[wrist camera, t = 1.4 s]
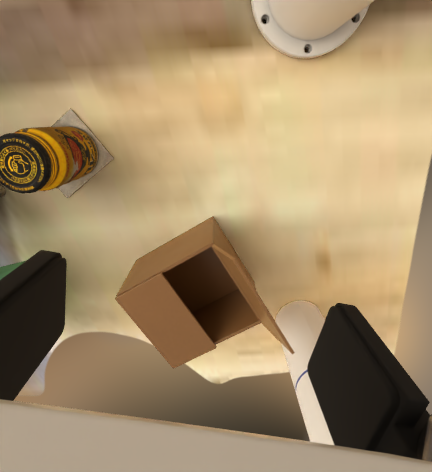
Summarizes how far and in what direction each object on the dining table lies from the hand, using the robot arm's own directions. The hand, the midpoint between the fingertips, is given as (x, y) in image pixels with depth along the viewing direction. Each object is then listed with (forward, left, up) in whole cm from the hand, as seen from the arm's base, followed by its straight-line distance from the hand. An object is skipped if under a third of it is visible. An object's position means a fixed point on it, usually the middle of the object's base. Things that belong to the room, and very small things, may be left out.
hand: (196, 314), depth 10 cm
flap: (+2, +11, -17) cm, 20 cm away
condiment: (+14, -11, -30) cm, 35 cm away
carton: (+9, +11, -30) cm, 33 cm away
